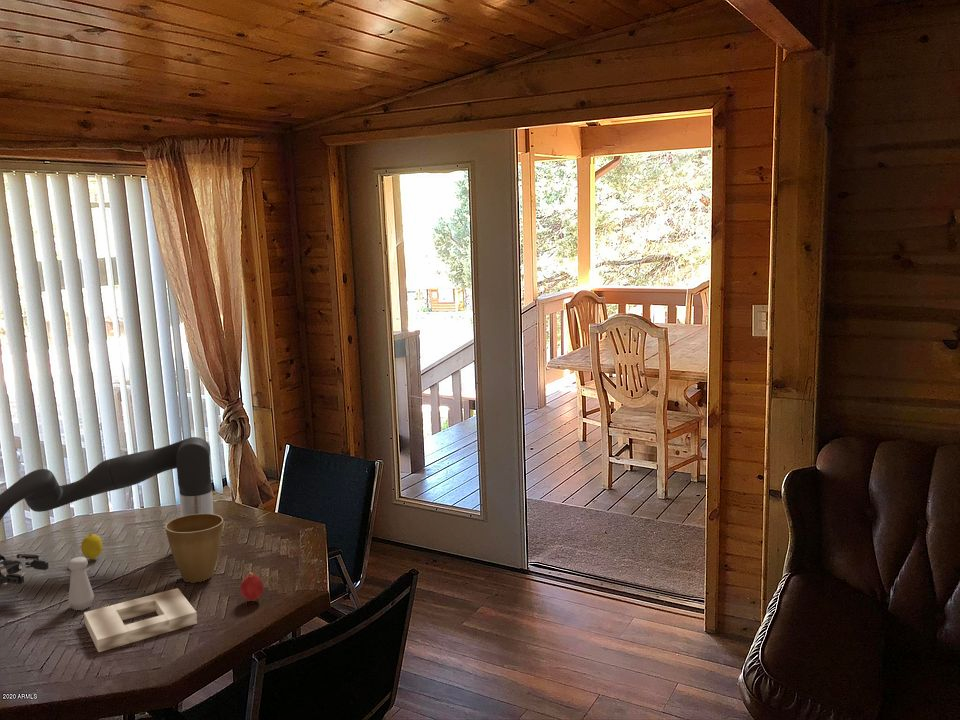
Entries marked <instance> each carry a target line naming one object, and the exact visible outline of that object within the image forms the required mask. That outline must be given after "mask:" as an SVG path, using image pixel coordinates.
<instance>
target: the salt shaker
mask: <svg viewBox="0 0 960 720" xmlns="http://www.w3.org/2000/svg"><path fill="white" fill-rule="evenodd" d="M88 561H89V560H88V558H86V557H85V556H78V557H74V558H71V559H70V560H69V561H68V564H67V565H68V566H67V567H68V569H69V570H70V571H71V573H70V580H69V590H68V599H67V601H68V604H69V606H70V608H71V609H72V610H73V609H74V610H73V611H75V610H76V612H78V611H77V610H81V611H84V610H83V609H86V608H87V609H89V608H91V607H90V606H92V604H93V601H94V599H95V598H94V597H95V594H94V591H93V588H92V586H91V582H90V579H89V577H88V574H87V573H88V572H87V570H86V568H87V566H88V565H89V563H88ZM88 607H89V608H88ZM87 609H86V610H87Z"/></svg>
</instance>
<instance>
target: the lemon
mask: <svg viewBox="0 0 960 720" xmlns="http://www.w3.org/2000/svg"><path fill="white" fill-rule="evenodd" d="M103 547H104V546H103V541H102V539H101V537H100V536H99V535H97V534H93V533H89V534H88V535H86V536H85V537H84V538H83V539H82V541H81V546H80V549H81V553H82V555H83V557H85V558H86V559H89V560H92V561H94V560H95V559H96V558H97V557H99V556H100V555H101V554H102V551H103Z"/></svg>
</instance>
